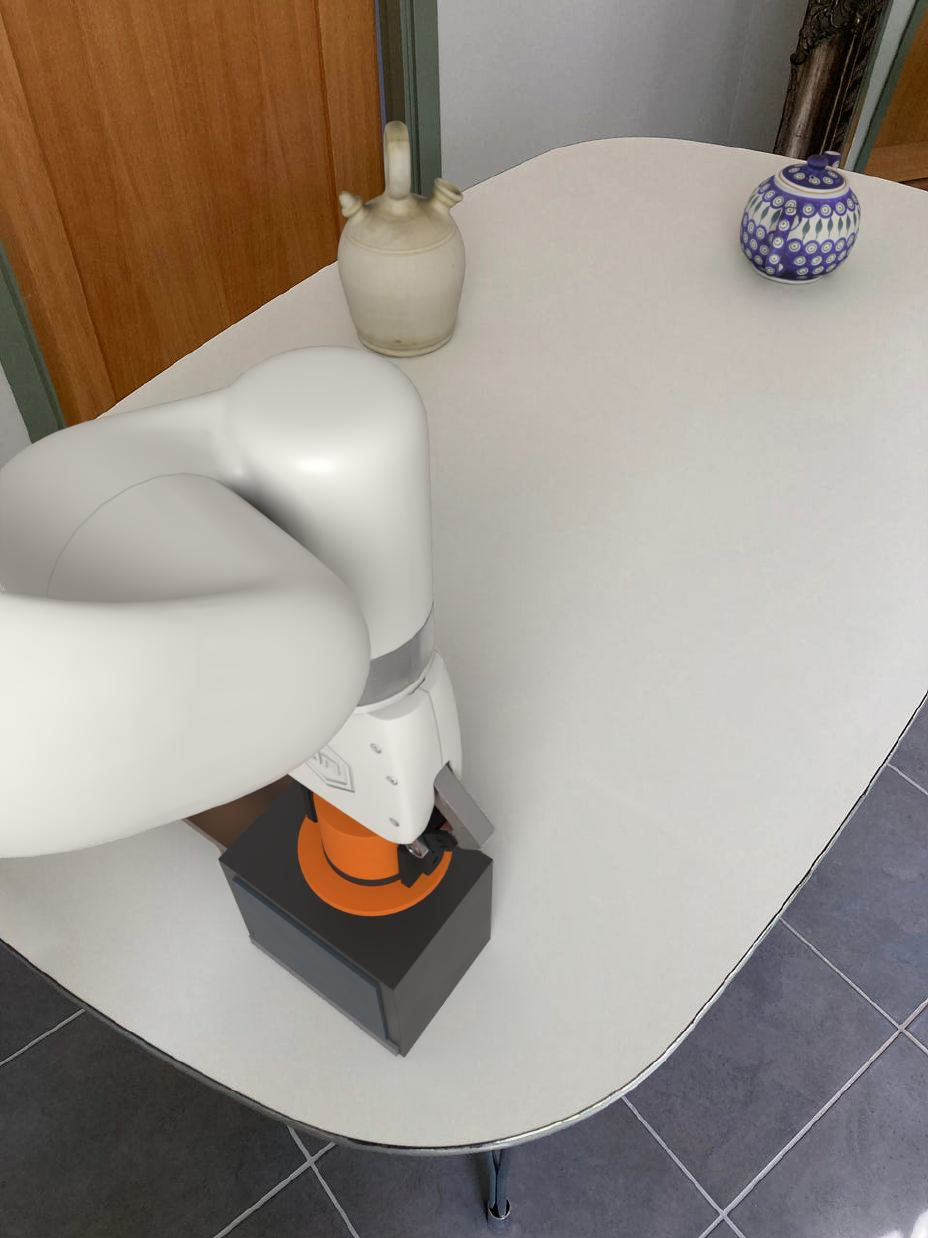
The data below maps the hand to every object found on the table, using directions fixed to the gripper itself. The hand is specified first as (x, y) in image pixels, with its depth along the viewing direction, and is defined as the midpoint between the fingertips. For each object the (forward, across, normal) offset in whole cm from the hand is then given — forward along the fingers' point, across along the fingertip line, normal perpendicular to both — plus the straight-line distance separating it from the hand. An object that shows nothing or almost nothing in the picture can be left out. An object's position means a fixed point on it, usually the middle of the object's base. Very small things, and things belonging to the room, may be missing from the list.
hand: (374, 832), depth 55 cm
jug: (+16, -49, +64) cm, 82 cm away
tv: (+17, -2, 0) cm, 17 cm away
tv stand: (+17, -23, +4) cm, 29 cm away
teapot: (+16, -16, +107) cm, 109 cm away
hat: (+1, 0, 0) cm, 1 cm away
